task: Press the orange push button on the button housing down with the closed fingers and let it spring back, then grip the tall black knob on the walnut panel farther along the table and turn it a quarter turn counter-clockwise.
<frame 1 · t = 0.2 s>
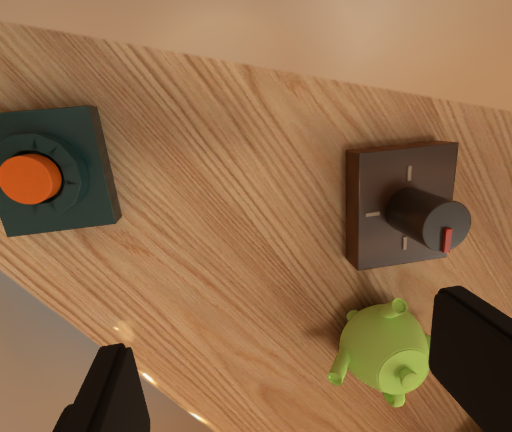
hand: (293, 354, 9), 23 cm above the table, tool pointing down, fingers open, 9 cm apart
dial panel: (389, 201, 34), on the table
orange push button: (31, 178, 24), point 4 cm above the table, slide at 0.1 cm
button housing: (57, 170, 28), on the table
teapot: (368, 321, 38), on the table
dial: (426, 218, 28), point 6 cm above the table, hinge at 0.0°
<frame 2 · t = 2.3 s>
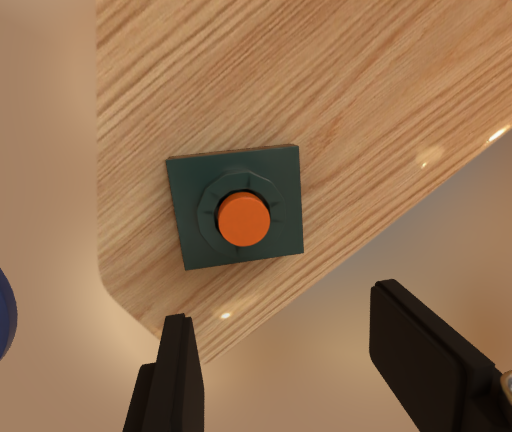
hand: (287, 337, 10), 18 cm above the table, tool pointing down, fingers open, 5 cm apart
orange push button: (243, 218, 23), point 4 cm above the table, slide at 0.1 cm
button housing: (237, 203, 27), on the table
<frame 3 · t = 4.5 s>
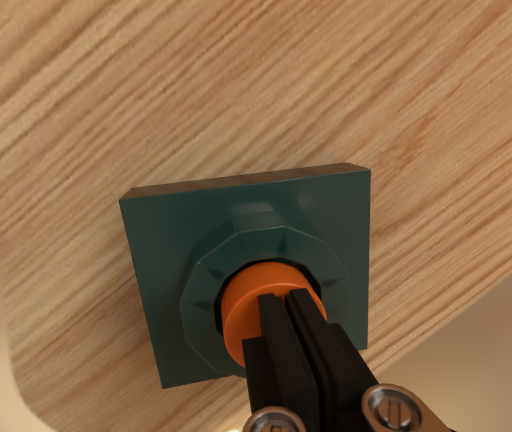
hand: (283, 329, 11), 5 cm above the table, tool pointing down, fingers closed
orange push button: (271, 315, 11), point 4 cm above the table, slide at 0.1 cm, touching gripper
button housing: (253, 263, 16), on the table
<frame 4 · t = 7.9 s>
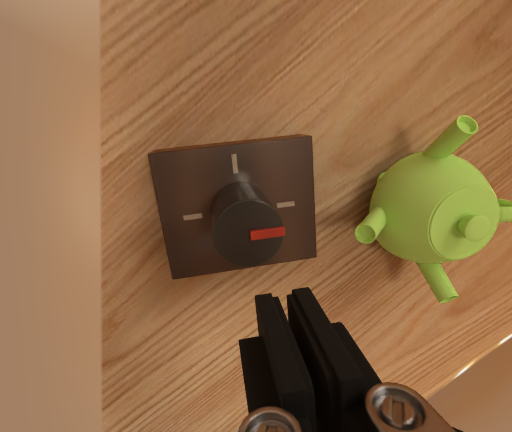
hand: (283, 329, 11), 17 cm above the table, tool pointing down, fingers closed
dial panel: (236, 200, 27), on the table
teapot: (396, 200, 30), on the table
dial: (244, 221, 21), point 6 cm above the table, hinge at 0.0°
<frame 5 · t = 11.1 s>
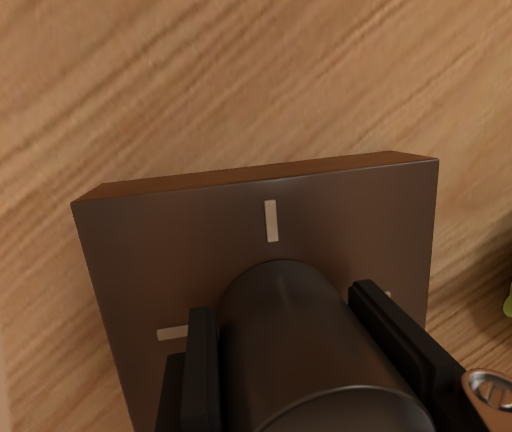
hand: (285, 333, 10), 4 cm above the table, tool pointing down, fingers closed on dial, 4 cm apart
dial panel: (264, 275, 14), on the table
dial: (301, 375, 9), point 6 cm above the table, hinge at -0.1°, touching gripper
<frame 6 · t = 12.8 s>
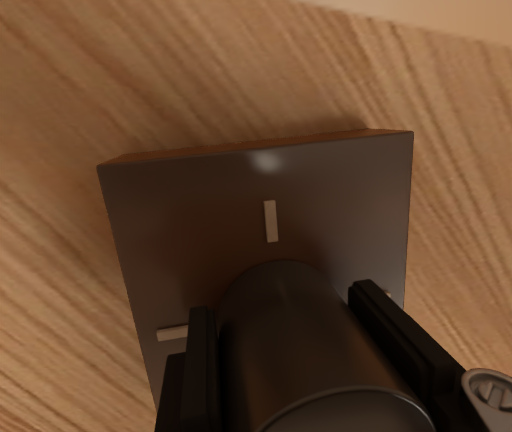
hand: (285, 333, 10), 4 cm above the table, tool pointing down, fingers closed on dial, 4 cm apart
dial panel: (263, 275, 14), on the table
dial: (301, 376, 9), point 6 cm above the table, hinge at 91.1°, touching gripper
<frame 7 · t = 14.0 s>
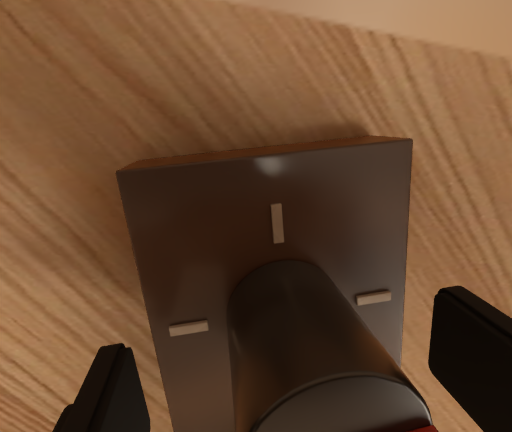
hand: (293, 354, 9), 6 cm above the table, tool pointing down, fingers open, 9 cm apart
dial panel: (269, 275, 15), on the table
dial: (305, 368, 9), point 6 cm above the table, hinge at 93.7°
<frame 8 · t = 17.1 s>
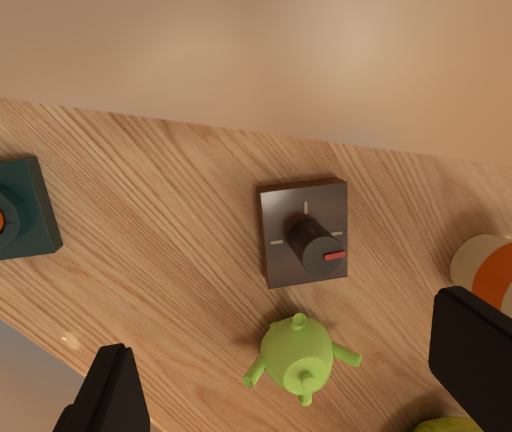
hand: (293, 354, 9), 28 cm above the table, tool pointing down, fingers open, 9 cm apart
dial panel: (299, 228, 39), on the table
button housing: (6, 208, 33), on the table
teapot: (290, 331, 44), on the table
dial: (314, 247, 34), point 6 cm above the table, hinge at 93.7°
reusable coffee cup: (477, 262, 45), on the table
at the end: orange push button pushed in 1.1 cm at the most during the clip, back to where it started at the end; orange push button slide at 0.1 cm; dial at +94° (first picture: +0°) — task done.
